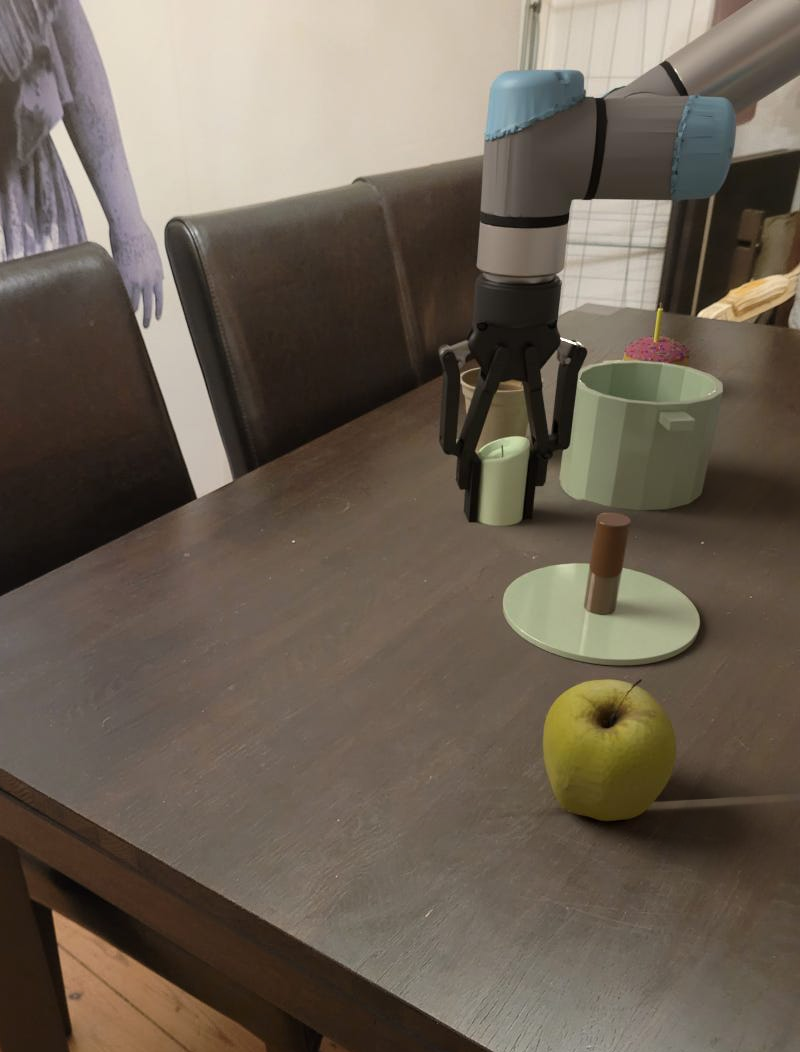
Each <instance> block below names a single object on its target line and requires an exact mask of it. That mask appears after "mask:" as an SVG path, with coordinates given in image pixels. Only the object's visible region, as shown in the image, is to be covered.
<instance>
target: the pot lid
mask: <svg viewBox="0 0 800 1052" xmlns="http://www.w3.org/2000/svg"><path fill="white" fill-rule="evenodd" d="M631 524H632V521H631V518H630V517H628V515H625V514H622V513H619V512H602V513H600V514H598V515H597V516H596V519H595V525H594V526H595V527H594V532H593V533H594V534H593V540H592V546H591V552H590V559H589V563H585V562H584V563H583V562H581V563H577V562H574V563H573V562H572V563H561V564H553V565H548V566H544V567H540V568H537V569H534V570H530V571H529V572H526V573H524V574H522V575H521V576H519V577H517V578H515V580H514V581H512V582H511V583H510V584H509V585H508V586H507V588H506V590H505V591H504V594H503V598H502V604H501V605H502V613H503V617H504V618H505V620H506V622H507V623H508V625H509V626H510V627H511V629H512V630H513V631H514V632H515V633H516V634H518V636H519V637H521V638H523V639H524V640H526V641H527V642H528V643H530V644H532V645H534V646H535V647H538V648H539V649H541V650H544V651H546V652H547V653H551V654H553V655H556V656H559V657H561V658H565V659H568V660H573V661H577V662H582V663H588V664H594V665H602V666H616V667H618V666H621V667H622V666H623V667H624V666H640V665H648V664H653V663H657V662H661V661H665V660H669V659H671V658H673V657H675V656H678V655H679V654H681V653H683V652H685V651H686V650H687V649H688V648H690V647H691V646H692V644H694V642H695V641H696V639H697V637H698V635H699V631H700V625H701V619H700V614H699V611H698V609H697V607H696V605H694V603H693V602H692V600H691V599H690V598H688V596H687V595H685V594H684V593H683V592H682V591H681V590H679V589H678V588H676V587H674V586H673V585H671V584H670V583H668V582H666V581H663V580H662V579H659V578H657V577H655V576H652V575H649V574H647V573H643V572H641V571H637V570H634V569H630V568H626V567H624V564H625V558H626V552H627V546H628V540H629V535H630V529H631Z"/></svg>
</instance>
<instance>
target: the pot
mask: <svg viewBox="0 0 800 1052" xmlns="http://www.w3.org/2000/svg"><path fill="white" fill-rule="evenodd" d="M723 394H724V383H723V382H722V381H721V380H720V379H718V378H717V377H715V376H714V375H713V374H711V373H708V372H705V371H702V370H700V369H696V368H693V367H691V366H690V367H689V366H687V367H686V366H680V365H675V364H669V363H663V362H650V361H637V360H636V361H625V360H624V359H616V360H615V359H614V360H613V359H612V360H602V362H599V363H598V362H597V363H593V364H588V365H586V366H583V367H581V369H580V371H579V373H578V382H577V390H576V398H575V407H574V415H573V423H572V432H571V440H570V446H569V447H568V448H567V449H566V450H562V455H561V462H560V463H561V464H560V470H559V484H560V487H561V489H562V491H564V492H565V493H566V494H567V495H568V496H569V497H571V498H572V499H574V500H576V501H580V500H581V501H582V500H583V501H588V502H591V503H595V504H599V505H601V506H606V507H610V508H616V509H624V510H634V511H656V510H670V509H674V508H677V507H683V506H685V505H689V504H691V503H693V502H694V501H695V500H696V499H698V498H699V497H701V496H702V494H703V488H704V485H705V480H706V476H707V475H706V474H707V469H708V465H709V461H710V456H711V451H712V447H713V442H714V438H715V434H716V433H715V432H716V429H717V423H718V418H719V413H720V410H721V409H720V408H721V405H722V399H723Z"/></svg>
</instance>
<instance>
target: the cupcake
mask: <svg viewBox="0 0 800 1052" xmlns="http://www.w3.org/2000/svg"><path fill="white" fill-rule="evenodd" d="M662 306H663V303H662V302H659V308H657V313H656V321H655V329H654V334H653V335H654V336H653V335H650V336H649V337H648V336H646V337H642V338H638V339H637V340H635V341H633V342H631V343H630V344H629V345H628V346H627V347H625V349H624V354H623V357H622V358H623V359H622V360H625V361H636V360H637V361H650V362H663V363H669V364H675V365H680V366H686V367H689V364H690V356H691V355H690V354H689V353H690V351H689V350H687V349H688V348H687V347H686V346H685V345H683V344H681V343H680V342H678V341H677V340H675V339H674V338H671V337H668V336H663V335H661V330H662V329H661V328H662V321H663V314H664V308H663V307H662Z"/></svg>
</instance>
